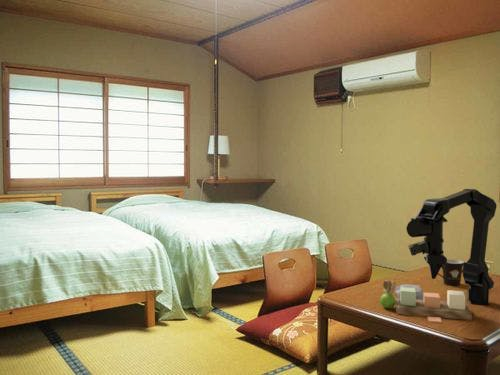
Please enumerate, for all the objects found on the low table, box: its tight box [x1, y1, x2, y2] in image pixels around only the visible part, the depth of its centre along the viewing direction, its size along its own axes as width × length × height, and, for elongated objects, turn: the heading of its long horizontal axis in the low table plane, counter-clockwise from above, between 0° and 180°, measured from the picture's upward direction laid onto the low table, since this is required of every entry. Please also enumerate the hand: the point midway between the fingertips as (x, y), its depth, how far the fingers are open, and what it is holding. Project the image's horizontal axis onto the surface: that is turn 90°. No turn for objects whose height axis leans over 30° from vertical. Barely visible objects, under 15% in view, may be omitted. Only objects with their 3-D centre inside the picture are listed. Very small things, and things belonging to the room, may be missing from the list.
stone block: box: [395, 283, 424, 300], centre depth 178 cm, size 12×5×10 cm
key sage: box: [400, 287, 416, 306], centre depth 160 cm, size 5×5×5 cm
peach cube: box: [423, 291, 441, 308], centre depth 158 cm, size 5×5×5 cm
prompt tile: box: [427, 316, 443, 324], centre depth 150 cm, size 4×4×1 cm
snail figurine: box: [379, 277, 397, 309], centre depth 162 cm, size 5×6×12 cm
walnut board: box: [394, 297, 473, 321], centre depth 159 cm, size 24×11×2 cm, turn 74°
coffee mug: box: [437, 258, 464, 287], centre depth 195 cm, size 12×9×10 cm
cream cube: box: [446, 289, 466, 310], centre depth 156 cm, size 5×5×5 cm
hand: (433, 278), depth 158 cm, fingers closed
